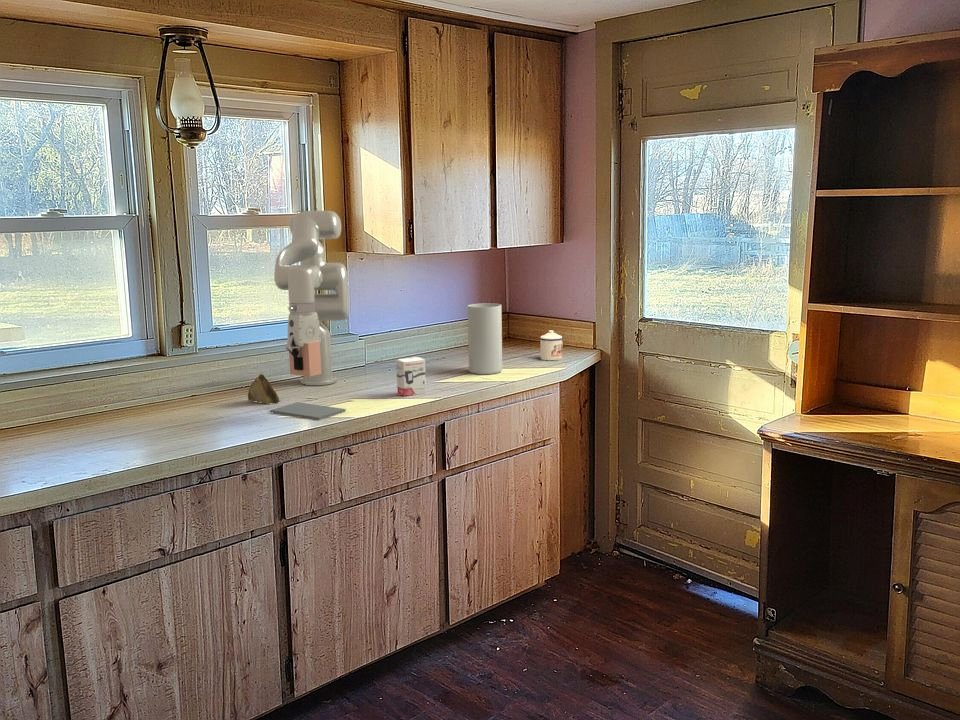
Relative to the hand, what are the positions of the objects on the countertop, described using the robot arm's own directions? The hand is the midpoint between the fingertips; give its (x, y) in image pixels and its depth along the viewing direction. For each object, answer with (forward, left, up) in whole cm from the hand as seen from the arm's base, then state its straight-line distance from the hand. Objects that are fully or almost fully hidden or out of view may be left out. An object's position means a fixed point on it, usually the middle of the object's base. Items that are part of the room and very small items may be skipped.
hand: (305, 367), depth 262 cm
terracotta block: (0, 0, -2) cm, 2 cm away
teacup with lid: (+25, +116, -14) cm, 120 cm away
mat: (0, 0, -14) cm, 14 cm away
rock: (-23, +4, -14) cm, 27 cm away
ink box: (+13, +36, -14) cm, 41 cm away
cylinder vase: (+15, +80, -14) cm, 83 cm away
